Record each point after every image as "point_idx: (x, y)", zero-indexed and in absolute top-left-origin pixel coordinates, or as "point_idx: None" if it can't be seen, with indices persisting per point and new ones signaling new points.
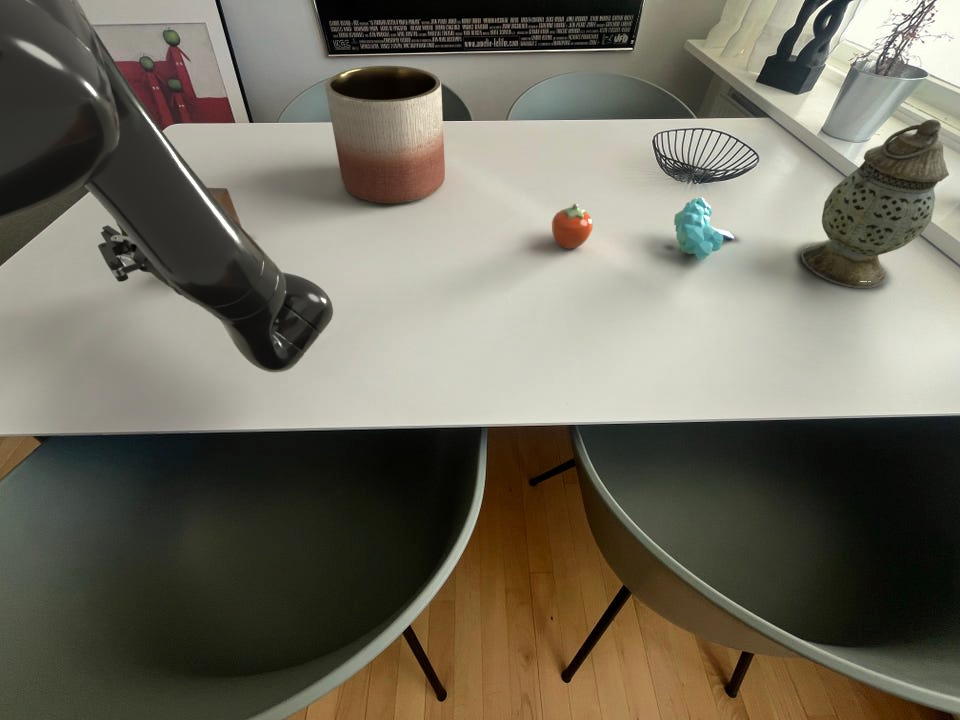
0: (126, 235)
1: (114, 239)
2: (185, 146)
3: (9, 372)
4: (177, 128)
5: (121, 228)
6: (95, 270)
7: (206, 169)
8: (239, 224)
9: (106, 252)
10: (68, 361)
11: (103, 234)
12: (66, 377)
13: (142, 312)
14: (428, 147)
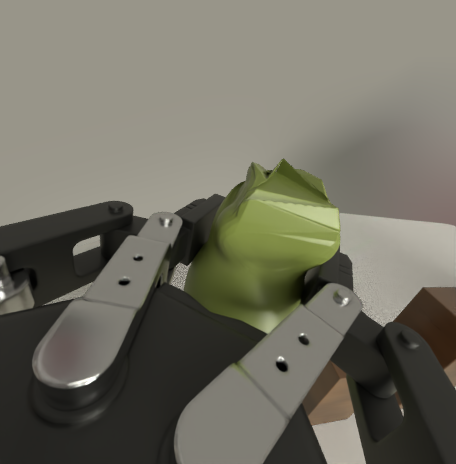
0: (208, 240)
1: (150, 220)
2: (446, 238)
3: None
4: (451, 225)
5: (214, 217)
6: None
7: (450, 267)
8: (453, 384)
9: (52, 223)
10: (72, 293)
11: (193, 203)
12: None
13: None
14: None
